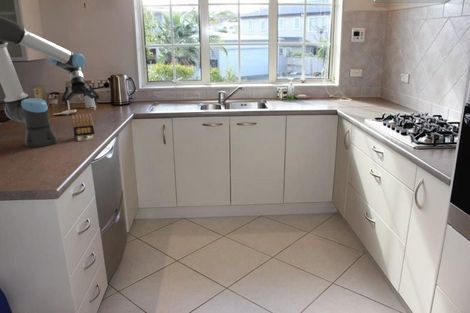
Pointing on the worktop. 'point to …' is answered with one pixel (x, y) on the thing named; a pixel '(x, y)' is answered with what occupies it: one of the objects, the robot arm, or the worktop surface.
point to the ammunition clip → (83, 125)
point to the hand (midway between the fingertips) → (82, 110)
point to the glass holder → (88, 100)
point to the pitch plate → (85, 137)
